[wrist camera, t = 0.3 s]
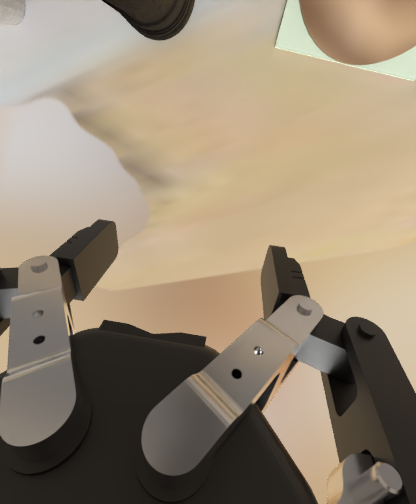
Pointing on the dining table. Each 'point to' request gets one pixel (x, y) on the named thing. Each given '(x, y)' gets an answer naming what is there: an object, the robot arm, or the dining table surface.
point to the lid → (361, 28)
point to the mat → (299, 41)
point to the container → (155, 16)
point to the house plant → (11, 11)
